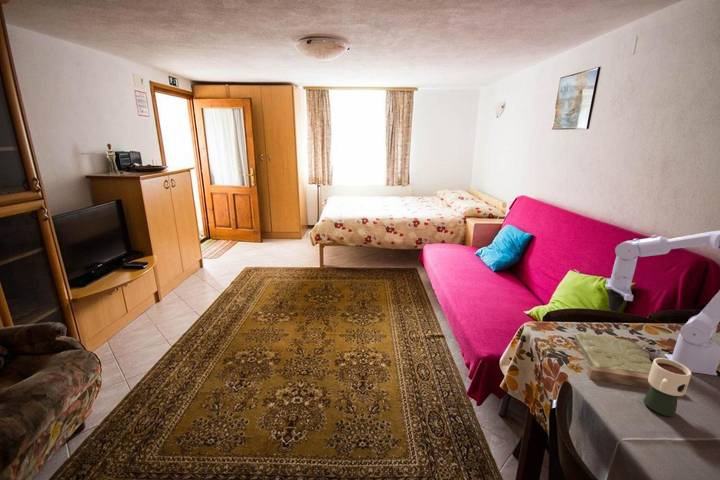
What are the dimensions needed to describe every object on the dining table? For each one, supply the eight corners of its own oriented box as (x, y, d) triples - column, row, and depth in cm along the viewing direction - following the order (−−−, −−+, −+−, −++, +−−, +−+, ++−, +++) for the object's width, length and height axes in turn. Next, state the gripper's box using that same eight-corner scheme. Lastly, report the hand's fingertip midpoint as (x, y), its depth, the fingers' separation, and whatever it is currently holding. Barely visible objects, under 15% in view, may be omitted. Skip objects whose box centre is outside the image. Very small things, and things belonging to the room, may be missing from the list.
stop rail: (674, 387, 93) (677, 378, 92) (679, 392, 91) (682, 383, 90) (586, 374, 98) (588, 365, 97) (589, 378, 96) (591, 369, 95)
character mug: (671, 427, 80) (687, 383, 76) (635, 409, 85) (648, 367, 81) (681, 406, 86) (696, 365, 82) (646, 391, 91) (659, 351, 88)
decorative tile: (595, 376, 98) (597, 366, 97) (572, 339, 116) (574, 330, 115) (670, 389, 93) (673, 378, 92) (634, 348, 112) (636, 339, 111)
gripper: (600, 266, 120) (592, 299, 124) (619, 282, 107) (609, 318, 111) (622, 268, 119) (613, 301, 122) (644, 284, 105) (634, 321, 109)
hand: (613, 310), depth 116 cm, fingers closed
